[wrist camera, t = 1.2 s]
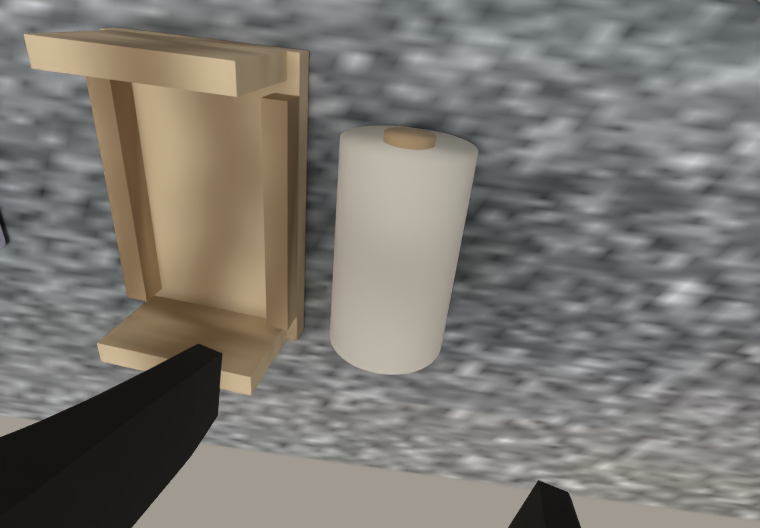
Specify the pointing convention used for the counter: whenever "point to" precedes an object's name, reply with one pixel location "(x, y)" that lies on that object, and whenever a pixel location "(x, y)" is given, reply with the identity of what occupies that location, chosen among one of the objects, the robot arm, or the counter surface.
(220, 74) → the holder
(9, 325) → the counter surface
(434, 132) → the paper roll
